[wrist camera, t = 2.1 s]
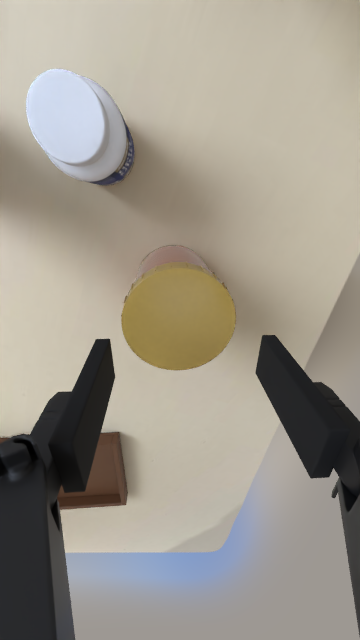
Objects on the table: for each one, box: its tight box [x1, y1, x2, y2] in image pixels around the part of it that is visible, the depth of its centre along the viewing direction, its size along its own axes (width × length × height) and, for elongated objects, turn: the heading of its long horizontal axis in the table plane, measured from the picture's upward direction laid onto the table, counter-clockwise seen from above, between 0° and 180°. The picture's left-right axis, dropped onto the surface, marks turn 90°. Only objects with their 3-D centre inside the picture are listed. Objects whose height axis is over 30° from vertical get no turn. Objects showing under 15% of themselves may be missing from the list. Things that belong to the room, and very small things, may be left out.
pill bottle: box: [26, 69, 135, 185], centre depth 17 cm, size 5×5×10 cm
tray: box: [0, 432, 128, 510], centre depth 39 cm, size 18×16×2 cm
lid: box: [121, 261, 236, 370], centre depth 19 cm, size 9×9×2 cm
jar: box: [135, 245, 211, 282], centre depth 23 cm, size 8×8×10 cm
